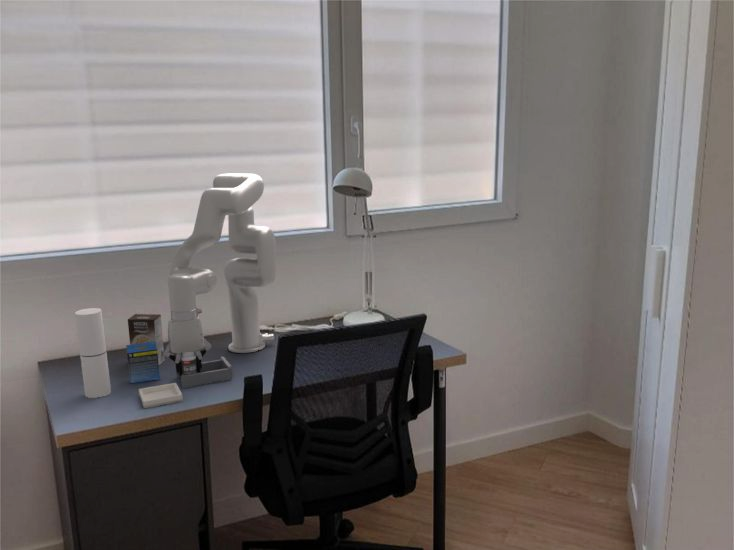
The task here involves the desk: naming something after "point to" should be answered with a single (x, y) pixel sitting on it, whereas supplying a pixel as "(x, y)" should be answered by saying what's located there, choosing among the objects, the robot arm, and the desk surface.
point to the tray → (160, 395)
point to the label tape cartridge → (143, 362)
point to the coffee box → (146, 331)
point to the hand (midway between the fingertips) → (189, 372)
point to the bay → (208, 373)
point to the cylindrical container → (93, 352)
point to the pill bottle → (188, 363)
